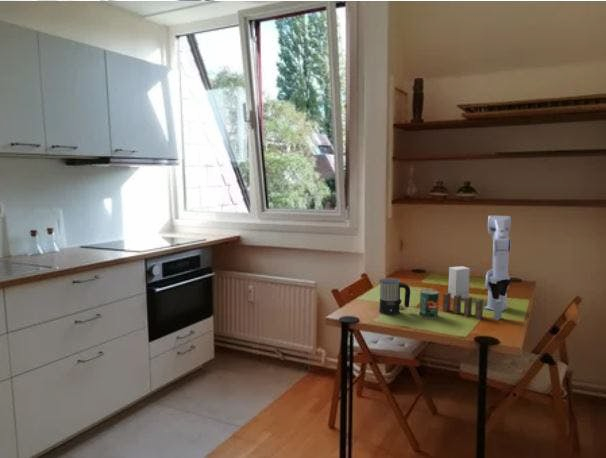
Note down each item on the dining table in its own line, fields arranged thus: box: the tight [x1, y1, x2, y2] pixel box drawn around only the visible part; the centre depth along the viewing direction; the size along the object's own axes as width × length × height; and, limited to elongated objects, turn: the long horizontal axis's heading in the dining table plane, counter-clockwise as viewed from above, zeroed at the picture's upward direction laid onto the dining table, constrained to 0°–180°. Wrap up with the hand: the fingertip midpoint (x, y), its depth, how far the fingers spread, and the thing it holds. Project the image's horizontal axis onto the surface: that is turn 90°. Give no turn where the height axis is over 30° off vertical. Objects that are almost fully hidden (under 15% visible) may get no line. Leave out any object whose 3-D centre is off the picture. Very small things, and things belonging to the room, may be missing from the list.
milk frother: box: [378, 277, 411, 316], centre depth 208 cm, size 14×16×15 cm
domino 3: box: [463, 296, 473, 317], centre depth 201 cm, size 4×2×8 cm, turn 136°
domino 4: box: [474, 298, 484, 320], centre depth 197 cm, size 4×2×8 cm, turn 136°
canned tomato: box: [418, 288, 440, 319], centre depth 200 cm, size 8×8×11 cm
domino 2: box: [452, 295, 462, 315], centre depth 204 cm, size 4×2×8 cm, turn 136°
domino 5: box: [493, 300, 503, 321], centre depth 196 cm, size 4×2×8 cm, turn 136°
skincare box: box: [447, 265, 471, 300], centre depth 229 cm, size 8×7×16 cm
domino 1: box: [442, 291, 452, 313], centre depth 208 cm, size 4×2×8 cm, turn 136°
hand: (499, 297), depth 195 cm, fingers open, 7 cm apart
